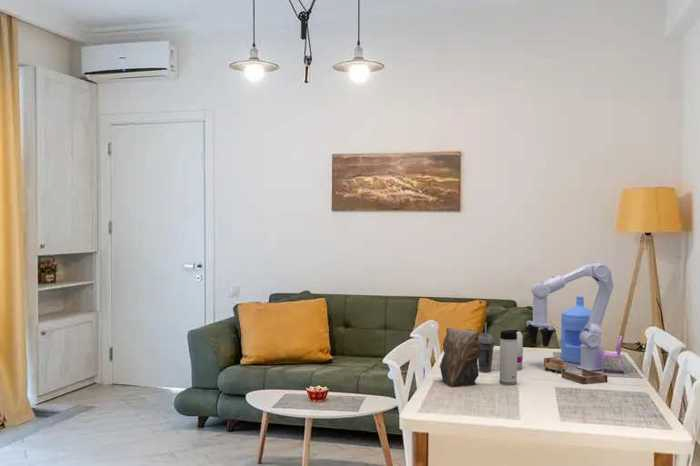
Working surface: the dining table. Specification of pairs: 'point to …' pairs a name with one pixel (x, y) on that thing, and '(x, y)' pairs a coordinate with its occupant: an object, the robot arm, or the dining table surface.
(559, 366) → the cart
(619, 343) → the toy chair
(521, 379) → the dining table surface
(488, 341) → the beverage cup
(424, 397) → the dining table surface
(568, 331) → the water jug
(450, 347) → the brown rough lump
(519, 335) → the supplement can
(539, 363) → the dining table surface
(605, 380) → the bay
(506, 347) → the travel mug
